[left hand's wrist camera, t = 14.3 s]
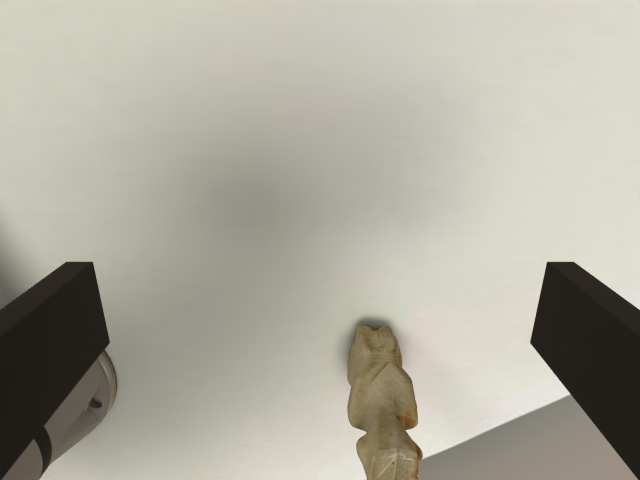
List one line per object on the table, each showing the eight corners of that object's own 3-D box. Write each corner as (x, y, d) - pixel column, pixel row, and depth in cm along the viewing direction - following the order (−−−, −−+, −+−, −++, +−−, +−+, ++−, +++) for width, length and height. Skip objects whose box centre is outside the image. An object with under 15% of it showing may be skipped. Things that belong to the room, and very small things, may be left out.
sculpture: (337, 372, 45) (345, 507, 31) (348, 313, 42) (362, 431, 28) (391, 378, 45) (424, 515, 31) (405, 320, 42) (448, 440, 28)
